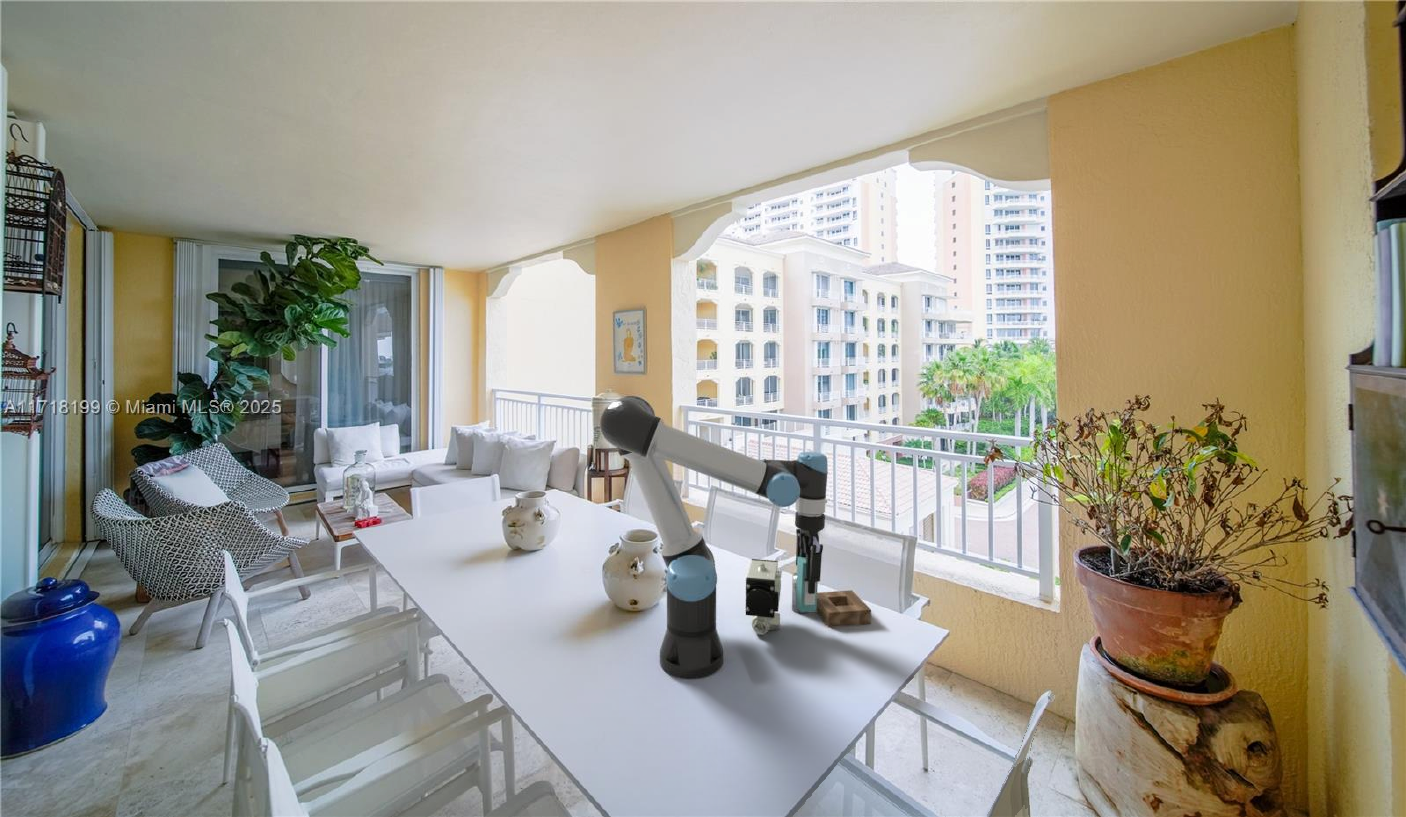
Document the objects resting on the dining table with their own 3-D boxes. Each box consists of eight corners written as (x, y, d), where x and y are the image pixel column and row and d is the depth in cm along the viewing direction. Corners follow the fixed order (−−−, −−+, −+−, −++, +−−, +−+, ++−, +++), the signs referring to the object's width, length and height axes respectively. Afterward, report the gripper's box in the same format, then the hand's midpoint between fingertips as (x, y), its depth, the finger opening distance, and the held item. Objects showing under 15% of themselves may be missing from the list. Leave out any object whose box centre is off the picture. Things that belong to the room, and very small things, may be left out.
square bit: (800, 611, 133) (803, 563, 132) (795, 604, 137) (797, 556, 136) (816, 611, 134) (818, 562, 132) (810, 603, 138) (812, 556, 137)
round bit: (795, 614, 145) (795, 580, 144) (789, 606, 150) (790, 572, 149) (812, 613, 145) (812, 578, 145) (806, 605, 150) (806, 571, 149)
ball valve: (778, 648, 128) (779, 578, 126) (744, 644, 129) (744, 575, 128) (782, 613, 145) (783, 552, 144) (752, 610, 147) (752, 550, 145)
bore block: (828, 627, 138) (828, 612, 137) (812, 606, 150) (812, 592, 149) (870, 623, 139) (871, 609, 139) (851, 603, 151) (851, 590, 151)
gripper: (837, 522, 125) (832, 615, 127) (812, 503, 142) (808, 585, 144) (807, 523, 124) (803, 616, 126) (786, 503, 141) (782, 586, 143)
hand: (806, 599), depth 135 cm, fingers closed on square bit, 4 cm apart
